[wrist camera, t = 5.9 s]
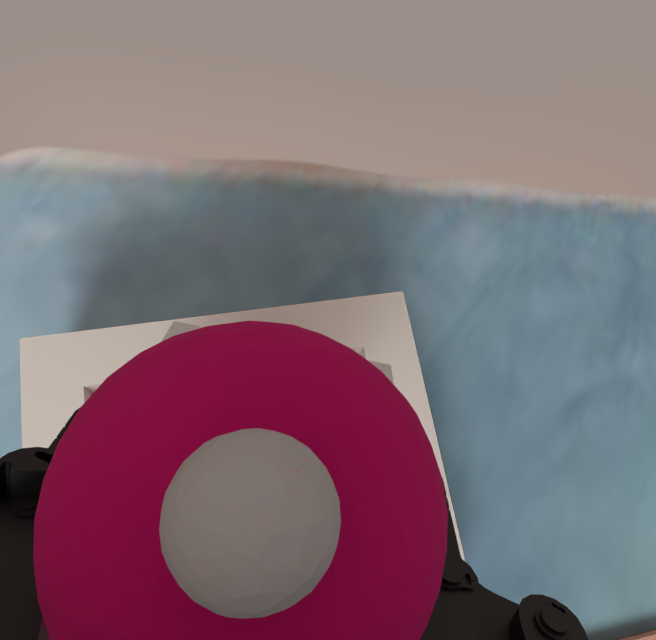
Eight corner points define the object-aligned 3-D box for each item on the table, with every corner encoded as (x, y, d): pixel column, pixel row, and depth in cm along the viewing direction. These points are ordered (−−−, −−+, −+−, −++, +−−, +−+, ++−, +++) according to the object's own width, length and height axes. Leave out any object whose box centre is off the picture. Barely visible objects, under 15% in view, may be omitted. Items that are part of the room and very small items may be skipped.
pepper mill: (174, 627, 22) (-274, 1367, 3) (147, 442, 24) (-223, 206, 5) (351, 576, 23) (788, 874, 5) (313, 406, 25) (503, 118, 6)
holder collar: (375, 328, 27) (402, 290, 22) (444, 655, 23) (495, 694, 18) (63, 371, 24) (19, 338, 20) (80, 747, 20) (30, 819, 16)
